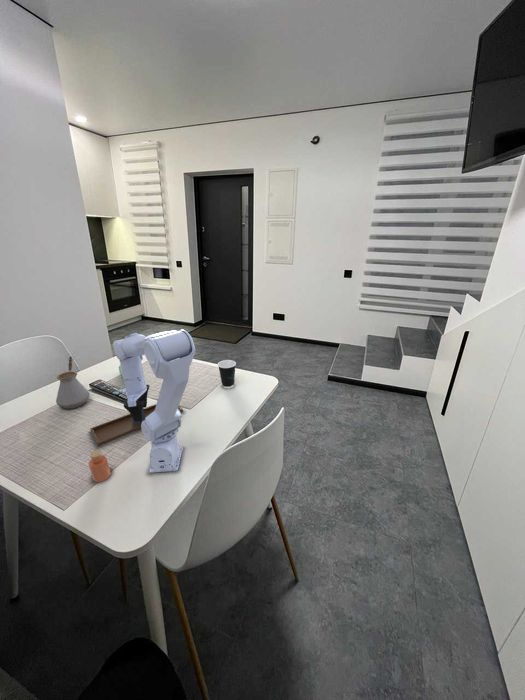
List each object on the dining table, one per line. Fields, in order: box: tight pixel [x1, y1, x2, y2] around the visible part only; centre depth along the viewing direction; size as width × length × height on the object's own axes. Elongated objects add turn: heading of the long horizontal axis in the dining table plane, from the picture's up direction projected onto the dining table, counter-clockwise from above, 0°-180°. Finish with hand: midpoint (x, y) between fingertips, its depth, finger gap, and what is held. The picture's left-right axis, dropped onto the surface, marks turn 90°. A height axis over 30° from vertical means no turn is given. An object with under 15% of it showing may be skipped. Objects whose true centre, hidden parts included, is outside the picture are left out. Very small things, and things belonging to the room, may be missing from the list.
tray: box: [89, 403, 184, 447], centre depth 103 cm, size 29×10×2 cm, turn 131°
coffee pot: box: [55, 356, 91, 410], centre depth 116 cm, size 21×12×15 cm, turn 25°
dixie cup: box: [217, 359, 237, 389], centre depth 126 cm, size 8×8×11 cm
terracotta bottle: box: [88, 449, 111, 483], centre depth 79 cm, size 4×4×8 cm
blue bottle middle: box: [131, 408, 145, 425], centre depth 102 cm, size 4×4×8 cm
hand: (141, 413), depth 92 cm, fingers open, 7 cm apart
